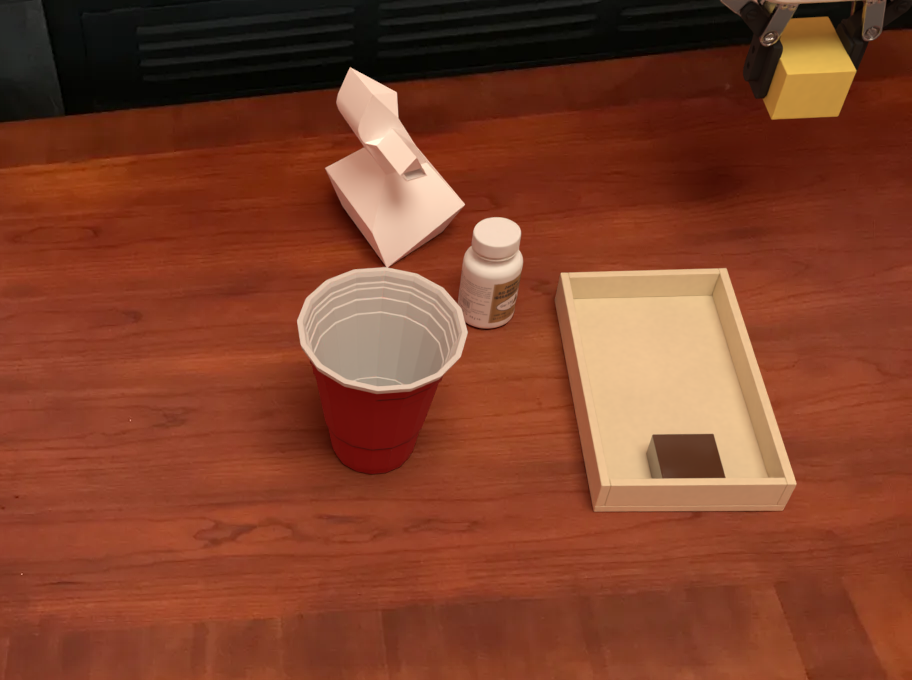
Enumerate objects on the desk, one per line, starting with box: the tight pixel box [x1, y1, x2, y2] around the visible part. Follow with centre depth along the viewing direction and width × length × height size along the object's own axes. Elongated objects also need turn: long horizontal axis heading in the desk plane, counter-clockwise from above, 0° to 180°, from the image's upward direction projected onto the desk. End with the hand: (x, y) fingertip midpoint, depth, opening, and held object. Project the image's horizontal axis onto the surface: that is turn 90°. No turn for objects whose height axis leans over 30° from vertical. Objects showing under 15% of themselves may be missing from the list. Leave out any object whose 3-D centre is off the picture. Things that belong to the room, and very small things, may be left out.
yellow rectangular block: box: [762, 16, 857, 121], centre depth 81 cm, size 4×7×4 cm, turn 176°
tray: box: [554, 267, 797, 513], centre depth 82 cm, size 12×21×3 cm, turn 176°
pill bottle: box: [457, 216, 524, 329], centre depth 87 cm, size 4×4×8 cm
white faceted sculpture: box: [324, 66, 466, 268], centre depth 92 cm, size 8×14×14 cm, turn 19°
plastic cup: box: [296, 266, 469, 475], centre depth 78 cm, size 11×11×12 cm
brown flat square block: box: [646, 434, 726, 479], centre depth 77 cm, size 4×4×2 cm
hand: (794, 83), depth 82 cm, fingers closed on yellow rectangular block, 4 cm apart
